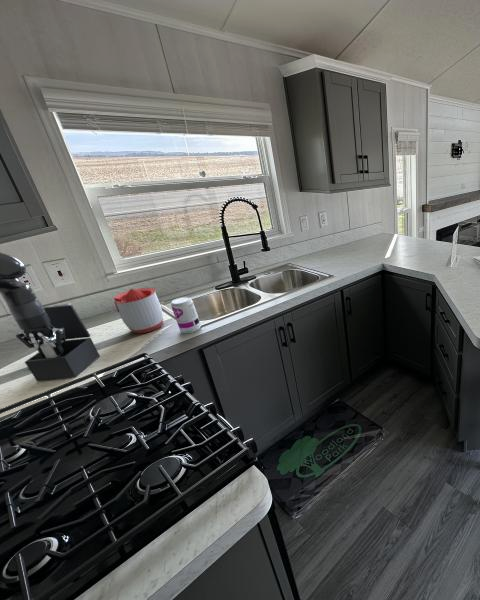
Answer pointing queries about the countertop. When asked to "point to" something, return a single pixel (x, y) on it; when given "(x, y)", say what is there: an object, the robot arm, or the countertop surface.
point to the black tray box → (64, 361)
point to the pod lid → (67, 321)
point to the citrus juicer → (139, 309)
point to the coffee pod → (48, 350)
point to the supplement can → (185, 315)
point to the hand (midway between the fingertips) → (53, 354)
